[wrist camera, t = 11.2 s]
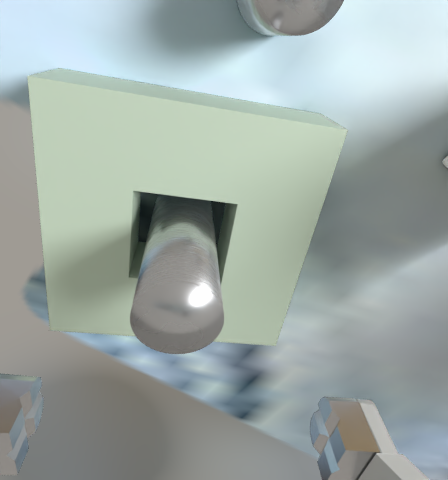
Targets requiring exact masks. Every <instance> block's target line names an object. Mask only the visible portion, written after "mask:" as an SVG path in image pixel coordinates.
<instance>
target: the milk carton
mask: <svg viewBox="0 0 448 480" xmlns="http://www.w3.org/2000/svg"><path fill="white" fill-rule="evenodd" d="M442 163H443V164H444V165H445V166H446V167H447V169H448V156H447V157H446V158H445V159H444V160H443V161H442Z"/></svg>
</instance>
